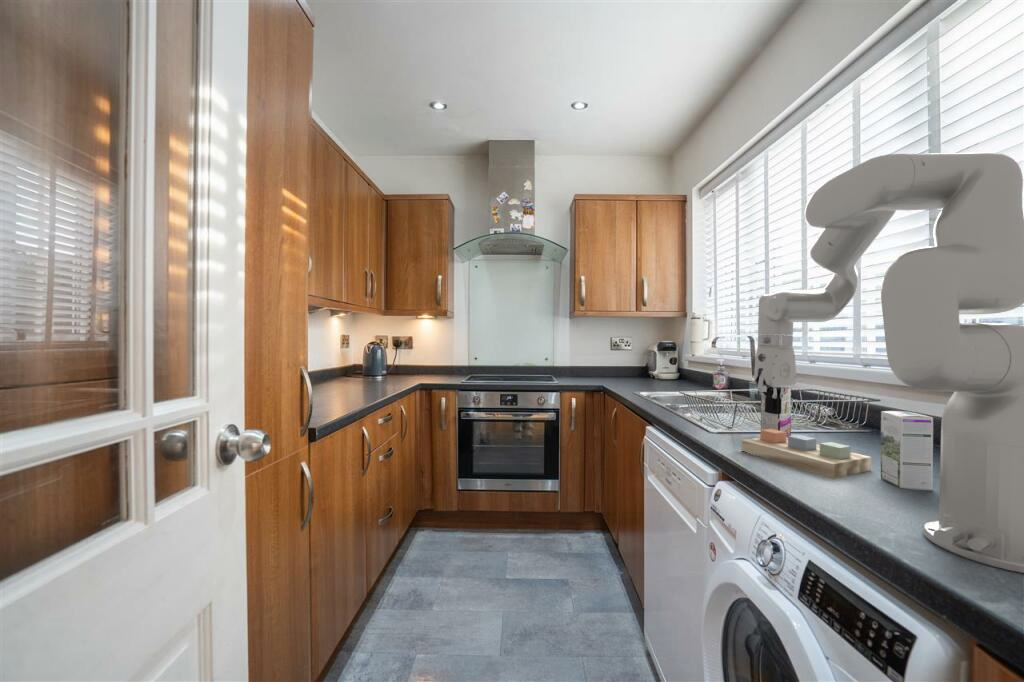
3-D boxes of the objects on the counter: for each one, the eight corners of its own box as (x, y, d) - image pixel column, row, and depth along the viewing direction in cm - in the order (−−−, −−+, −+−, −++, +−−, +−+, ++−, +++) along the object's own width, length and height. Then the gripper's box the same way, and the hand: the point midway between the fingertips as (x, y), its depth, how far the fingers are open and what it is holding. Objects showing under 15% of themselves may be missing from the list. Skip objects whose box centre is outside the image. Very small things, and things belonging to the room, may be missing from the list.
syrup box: (934, 491, 77) (936, 416, 77) (898, 488, 78) (900, 415, 78) (911, 480, 83) (912, 411, 82) (878, 478, 84) (879, 409, 84)
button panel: (833, 478, 83) (833, 464, 83) (741, 451, 103) (741, 439, 103) (871, 470, 89) (871, 457, 89) (777, 446, 108) (777, 435, 108)
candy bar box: (771, 435, 120) (772, 381, 120) (791, 438, 117) (792, 383, 116) (759, 441, 113) (760, 384, 113) (779, 445, 109) (780, 385, 109)
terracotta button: (775, 445, 100) (775, 433, 100) (760, 441, 103) (760, 429, 103) (786, 443, 101) (786, 432, 101) (770, 440, 105) (770, 428, 105)
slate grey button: (805, 452, 93) (805, 440, 93) (788, 448, 97) (788, 436, 97) (816, 451, 95) (816, 438, 95) (798, 446, 98) (798, 434, 98)
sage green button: (839, 461, 87) (840, 448, 87) (819, 456, 90) (819, 443, 90) (850, 459, 88) (850, 446, 88) (830, 454, 92) (830, 441, 92)
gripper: (769, 342, 96) (767, 418, 96) (808, 342, 102) (806, 414, 102) (741, 341, 103) (739, 412, 103) (779, 341, 108) (777, 408, 109)
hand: (772, 413), depth 103 cm, fingers closed
